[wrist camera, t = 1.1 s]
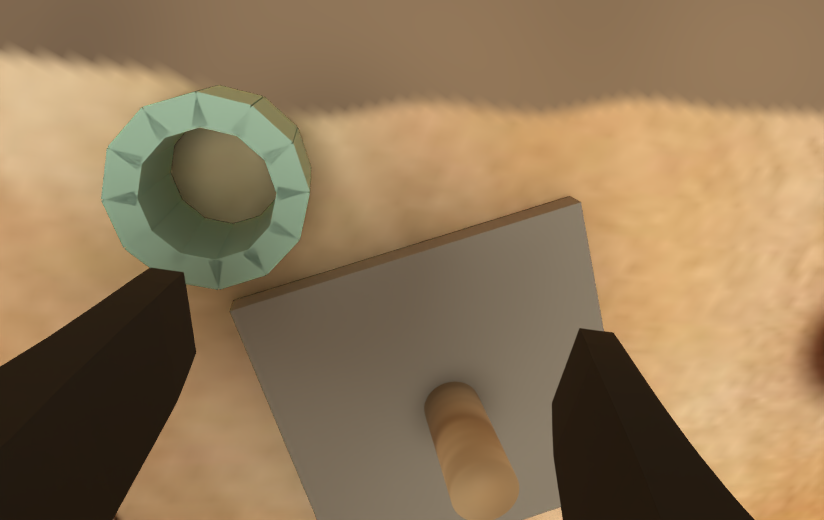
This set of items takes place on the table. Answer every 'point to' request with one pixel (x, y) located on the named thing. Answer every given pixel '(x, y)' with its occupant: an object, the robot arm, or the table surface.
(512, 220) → the grey board
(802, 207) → the table surface
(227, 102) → the green ring
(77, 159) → the table surface
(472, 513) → the beech post
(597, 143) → the table surface
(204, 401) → the table surface
